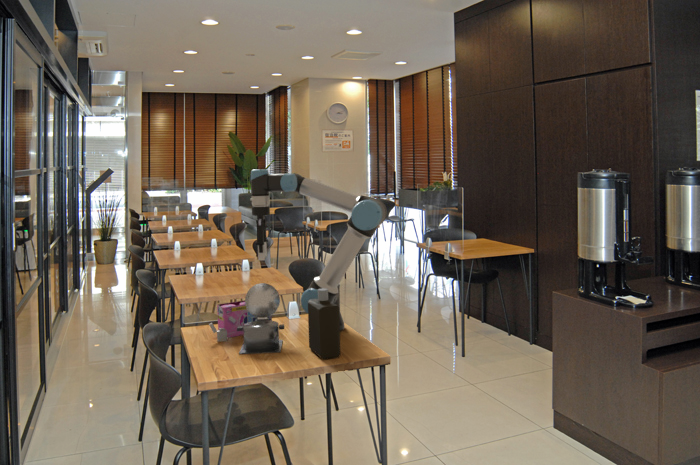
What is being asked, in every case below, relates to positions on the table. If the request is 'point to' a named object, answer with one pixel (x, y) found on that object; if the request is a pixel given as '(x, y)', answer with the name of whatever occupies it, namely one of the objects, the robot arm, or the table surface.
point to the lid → (262, 300)
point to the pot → (261, 337)
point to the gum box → (234, 317)
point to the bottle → (324, 326)
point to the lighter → (219, 333)
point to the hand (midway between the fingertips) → (262, 258)
